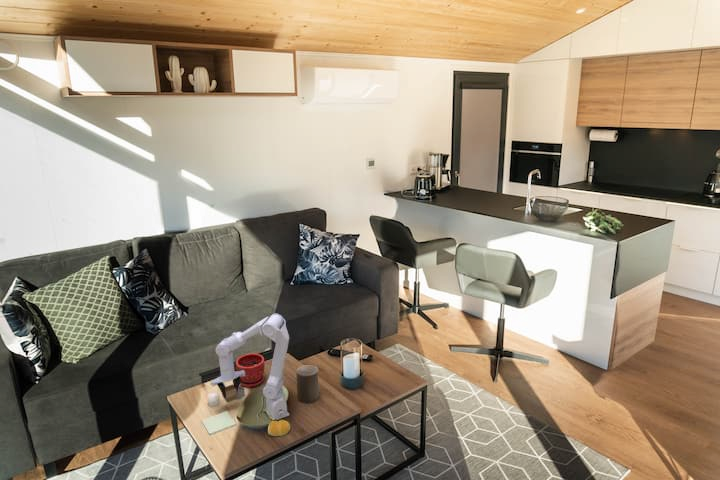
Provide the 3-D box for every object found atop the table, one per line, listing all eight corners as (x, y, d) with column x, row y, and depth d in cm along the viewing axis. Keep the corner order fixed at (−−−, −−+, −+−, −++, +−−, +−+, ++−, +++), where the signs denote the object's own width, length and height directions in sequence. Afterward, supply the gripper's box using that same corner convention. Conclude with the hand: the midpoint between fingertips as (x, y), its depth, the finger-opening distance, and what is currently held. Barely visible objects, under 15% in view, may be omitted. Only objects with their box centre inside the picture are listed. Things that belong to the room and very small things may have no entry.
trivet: (236, 425, 203) (236, 423, 203) (209, 435, 197) (209, 433, 197) (227, 412, 212) (227, 411, 212) (201, 421, 206) (201, 420, 206)
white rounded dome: (221, 404, 218) (220, 394, 216) (210, 408, 215) (209, 398, 214) (218, 399, 222) (217, 389, 220) (207, 403, 219) (205, 393, 218)
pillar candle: (304, 406, 215) (303, 375, 212) (293, 396, 223) (292, 366, 219) (323, 398, 221) (322, 368, 217) (311, 389, 229) (310, 359, 225)
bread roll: (290, 435, 197) (290, 426, 196) (268, 438, 195) (267, 429, 194) (289, 422, 204) (289, 414, 203) (267, 425, 203) (267, 417, 202)
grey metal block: (244, 395, 224) (244, 387, 223) (238, 399, 221) (237, 391, 220) (239, 392, 227) (238, 385, 226) (232, 396, 224) (231, 389, 223)
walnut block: (237, 399, 213) (236, 388, 212) (227, 402, 211) (226, 392, 210) (233, 394, 217) (232, 384, 216) (223, 398, 215) (222, 387, 213)
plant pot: (232, 382, 236) (230, 359, 232) (256, 372, 244) (255, 350, 241) (246, 393, 226) (244, 369, 223) (271, 382, 235) (269, 359, 232)
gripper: (239, 358, 217) (242, 385, 221) (207, 368, 209) (210, 396, 213) (245, 364, 211) (248, 392, 215) (212, 375, 204) (215, 404, 207)
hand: (230, 395), depth 213 cm, fingers closed on walnut block, 4 cm apart
